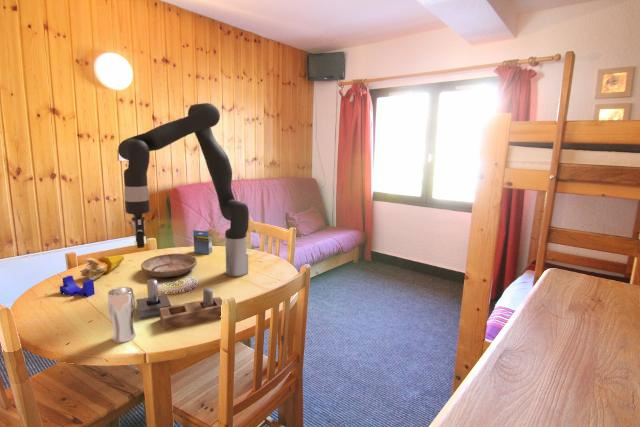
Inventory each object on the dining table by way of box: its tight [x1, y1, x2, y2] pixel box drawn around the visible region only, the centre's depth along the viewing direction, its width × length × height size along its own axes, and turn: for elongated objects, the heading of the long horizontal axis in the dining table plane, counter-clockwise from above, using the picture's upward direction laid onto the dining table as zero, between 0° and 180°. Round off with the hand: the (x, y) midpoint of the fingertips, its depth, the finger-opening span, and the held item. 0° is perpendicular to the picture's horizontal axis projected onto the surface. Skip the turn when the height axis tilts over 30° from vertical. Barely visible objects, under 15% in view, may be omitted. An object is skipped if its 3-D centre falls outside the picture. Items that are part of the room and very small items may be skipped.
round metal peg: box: [146, 278, 159, 306], centre depth 126 cm, size 3×3×11 cm
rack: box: [159, 287, 223, 331], centre depth 122 cm, size 20×8×9 cm, turn 121°
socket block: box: [135, 294, 172, 320], centre depth 127 cm, size 10×10×3 cm
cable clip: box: [59, 275, 96, 298], centre depth 137 cm, size 12×4×6 cm, turn 72°
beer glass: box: [107, 286, 136, 344], centre depth 108 cm, size 7×7×15 cm
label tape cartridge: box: [192, 230, 213, 255], centre depth 191 cm, size 9×4×12 cm, turn 77°
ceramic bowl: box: [140, 253, 198, 278], centre depth 163 cm, size 23×24×5 cm
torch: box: [79, 254, 125, 282], centre depth 159 cm, size 8×8×25 cm
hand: (140, 244), depth 127 cm, fingers open, 8 cm apart
